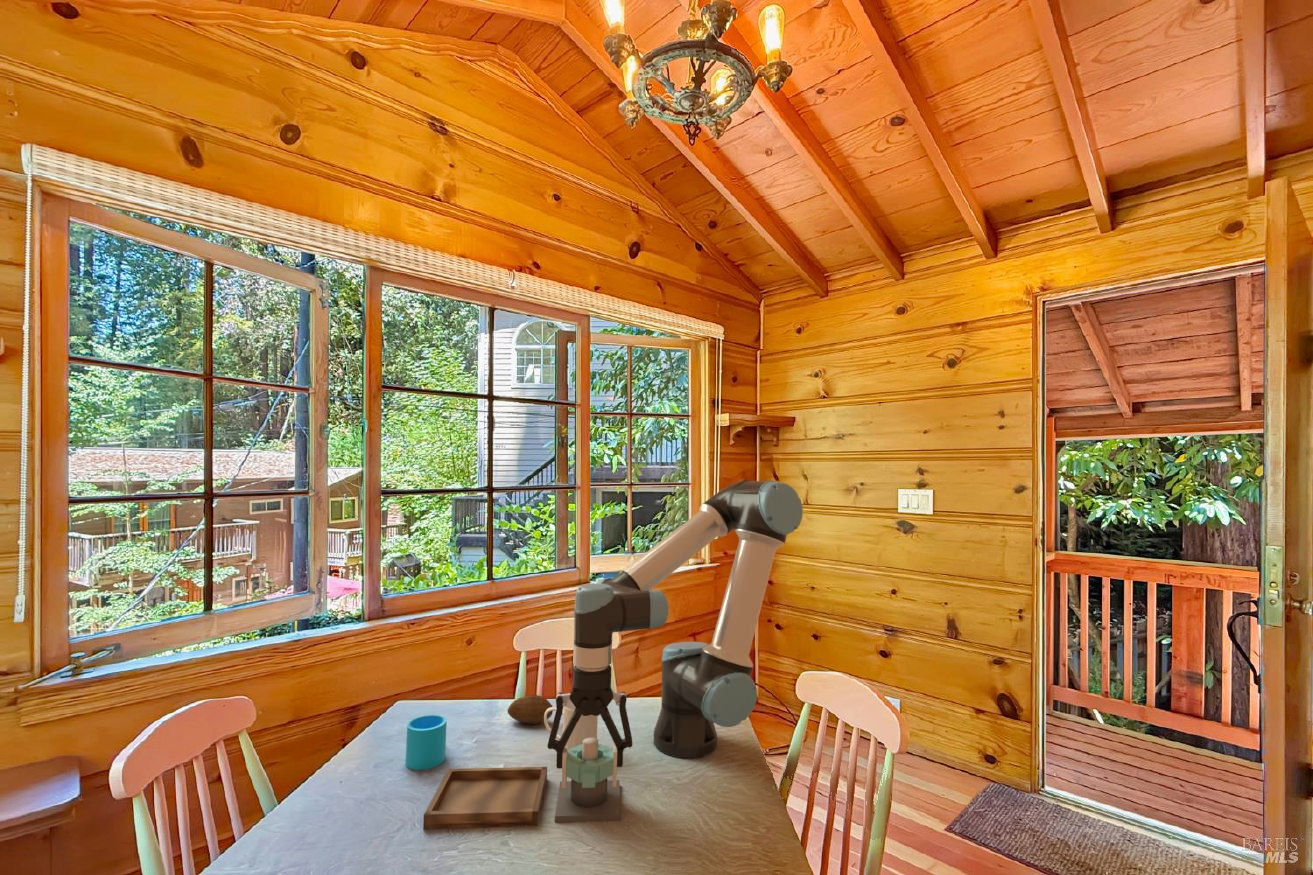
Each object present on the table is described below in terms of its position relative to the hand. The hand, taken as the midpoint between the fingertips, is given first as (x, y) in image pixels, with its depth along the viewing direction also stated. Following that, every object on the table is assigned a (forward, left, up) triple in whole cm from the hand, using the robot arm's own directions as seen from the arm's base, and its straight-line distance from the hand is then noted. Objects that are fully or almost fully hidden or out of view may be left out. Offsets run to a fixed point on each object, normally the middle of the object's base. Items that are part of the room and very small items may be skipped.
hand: (589, 783), depth 112 cm
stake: (0, 0, -3) cm, 3 cm away
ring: (0, 0, +3) cm, 3 cm away
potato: (+16, -37, -4) cm, 40 cm away
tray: (+19, -1, -3) cm, 19 cm away
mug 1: (+36, -20, -4) cm, 41 cm away
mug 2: (+5, -21, -4) cm, 22 cm away
